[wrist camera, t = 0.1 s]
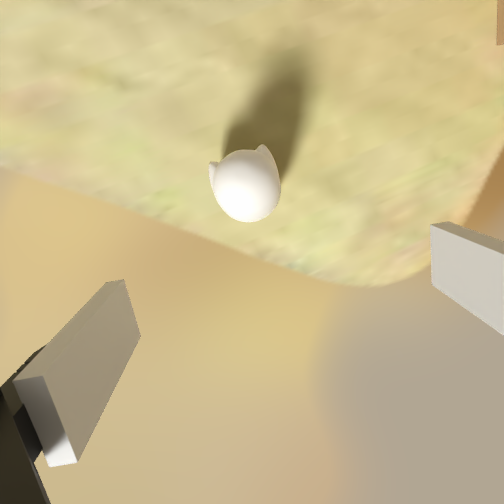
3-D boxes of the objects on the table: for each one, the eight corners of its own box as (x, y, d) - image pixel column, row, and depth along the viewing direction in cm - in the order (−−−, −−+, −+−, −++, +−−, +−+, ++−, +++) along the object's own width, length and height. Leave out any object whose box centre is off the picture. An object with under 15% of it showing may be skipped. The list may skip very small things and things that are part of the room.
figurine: (265, 139, 40) (276, 136, 29) (285, 203, 42) (303, 224, 31) (205, 160, 41) (193, 166, 29) (228, 222, 43) (225, 250, 31)
